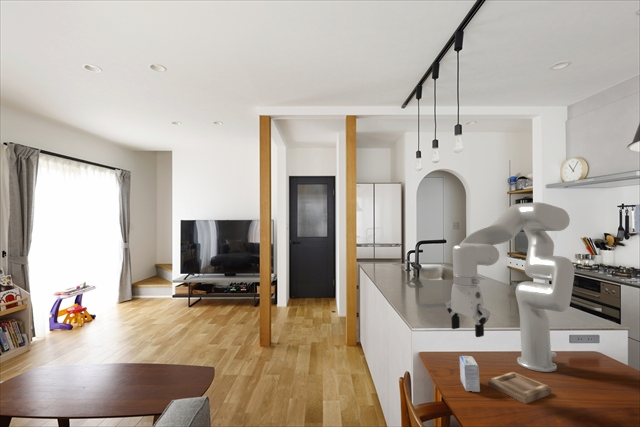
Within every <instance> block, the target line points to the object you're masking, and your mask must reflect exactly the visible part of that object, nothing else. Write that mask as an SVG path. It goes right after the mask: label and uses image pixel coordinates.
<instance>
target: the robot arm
mask: <svg viewBox="0 0 640 427" xmlns="http://www.w3.org/2000/svg"><path fill="white" fill-rule="evenodd" d="M570 220H571V219H570V215H569V213H568V212H567V211H566V210H565V209H564V208H562V207H558V206H554V205H552V204H548V203H544V202H536V201H535V202H524V203H515V204H513V205H510V206H509V207H508V208H507V209H506V210H504V212H503V213H502V214H501V215H500V216H499V217H498V218H497V219H495V220H494V221H493V222H492V223H490V224H489V225H486V226H484V227H482V228H480V229H478V230H475V231H473V232H472V233H470V234H469V235H467V236H466V237H465V238H464V239H463V240H462V241H461V242H459V244H456V245H453V247H452V270H453V272H452V273H453V276H452V277H453V284H452V286H451V293H450V294H451V295H450V300H448V301H445V302H444V303H445V306H446V308H447V309H446V310H447V312H448V313H449V317H450V318H451V329H452V330H456V329H459V328H460V327H461V325H460V316H459V315H461V316H465V317H468V318H473V320H474V322H475V324H474V331H475V332H474V333H475V337H476V338H482V337H484V336H485V328H484V327H485V324H486V323H487V322H488V321H489V318H490V316H491V311H489V310H487V308H486V307H485V306H484V298H483V293H482V288H481V286H479V285H480V283H481V281H480V279H478V266H488V267H489V266H492V265H495V264H496V263H498V261H499V259H500V251H499V250H498V248H497V247H496V246H497V245H501V244H505V243H509V242H510V241H512V240H514V239H515V237H516V236H517V235H518V234H519V233H520V232H521V231H522V230H523V231H524V234H525V236H526V238H527V242H528V246H527V252H526V258H525V264H524V273H525V275H526V276H527V277H529V278H530V279H531V278H532V279H534V280H535V279H536V280H541V281H548V282H549V281H550V282H551V284H550V283H546V282H545V283H544V282H539V281H530V280H529V281H522V282H519V283H518V284H517V286H516V287H515V297H516V301H517V306H518V312H519V313H518V314H519V328H520V330H519V331H520V349H521V351H520V353H521V356H518V357H517V358H516V360H517V361H516V362H517V363H518V364H519V366H521V367H523V368H525V369H528V370H532V371H537V372H543V373H544V372H545V373H549V372H550V373H552V372H555V371H557V370H558V368H557V364H556V363H555V362H553V360H552V359H553V358H556V357H557V352H555V351H552V350H551V347H552V346H551V329H550V325H551V324H550V319H549V315H548V313H547V312H546V311H551V312H556V313H563V312H565V311H567V310H568V309H569V308H570V304H571V300H572V294H573V286H574V280H575V265H574V263H573V262H572V261H571V259H570V258H567V257H565V256H562V255H561V256H560V255H554V251H555V250H554V249H555V244H554V241H553V239H552V238H551V236H550V234H548V233H547V232H561V231H564V230H566V229H567V228H568V227H569V226H570V222H571V221H570ZM495 245H496V246H495ZM545 310H546V311H545Z"/></svg>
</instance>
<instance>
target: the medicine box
mask: <svg viewBox="0 0 640 427" xmlns="http://www.w3.org/2000/svg"><path fill="white" fill-rule="evenodd" d="M459 373H460V374H459V375H460V376H459V377H460V381H461V384H462V386H463V388H464V389H465V391H466V392H469V391H472V392H471V393H474V392H475V393H480V392H481V388H480V386H481V384H480V369H479V365H478V363H477V361H476V360H475V358H474V357H473V356H471V355H460V356H459Z"/></svg>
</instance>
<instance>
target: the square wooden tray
mask: <svg viewBox="0 0 640 427" xmlns="http://www.w3.org/2000/svg"><path fill="white" fill-rule="evenodd" d="M487 386H488V387H489V386H490V387H489V388H491V387H492V388H491V389H493V388H494V389H493V390H495V389H496V391H497V390H499V391H498V392H500V391H501V392H500V393H502V392H503V393H502V394H504V393H505V394H504V395H506V394H507V395H506V396H508V395H509V397H510V396H511V397H510V398H512V397H513V398H512V399H514V398H515V399H514V400H516V399H517V401H518V402H521V403H522V404H528V403H531V402H534V401H536V400H540V399H541V398H544V397H548V396H549V395H552V388H550V387H549V385H548V384H545V383H542V382H540V381H538V380H535V379H532V378H530V377H527V376H526V375H523V374H520V373H518V372H515V371H511V372H508V373H505V374H502V375H499V376H495V377H492V378H490V380H489V381H487Z"/></svg>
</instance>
